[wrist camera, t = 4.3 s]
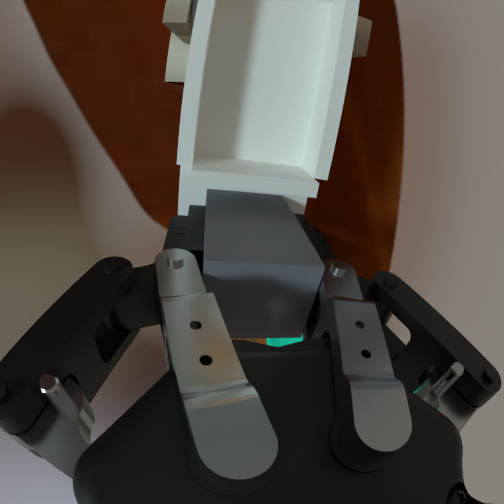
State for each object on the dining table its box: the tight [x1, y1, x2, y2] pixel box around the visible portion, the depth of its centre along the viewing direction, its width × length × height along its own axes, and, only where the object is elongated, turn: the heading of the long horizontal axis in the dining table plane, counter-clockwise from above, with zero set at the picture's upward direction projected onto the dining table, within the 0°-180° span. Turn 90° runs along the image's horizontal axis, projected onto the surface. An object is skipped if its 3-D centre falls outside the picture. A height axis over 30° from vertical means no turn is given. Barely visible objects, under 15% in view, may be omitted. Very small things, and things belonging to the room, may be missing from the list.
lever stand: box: [162, 0, 372, 82], centre depth 13 cm, size 8×11×10 cm
